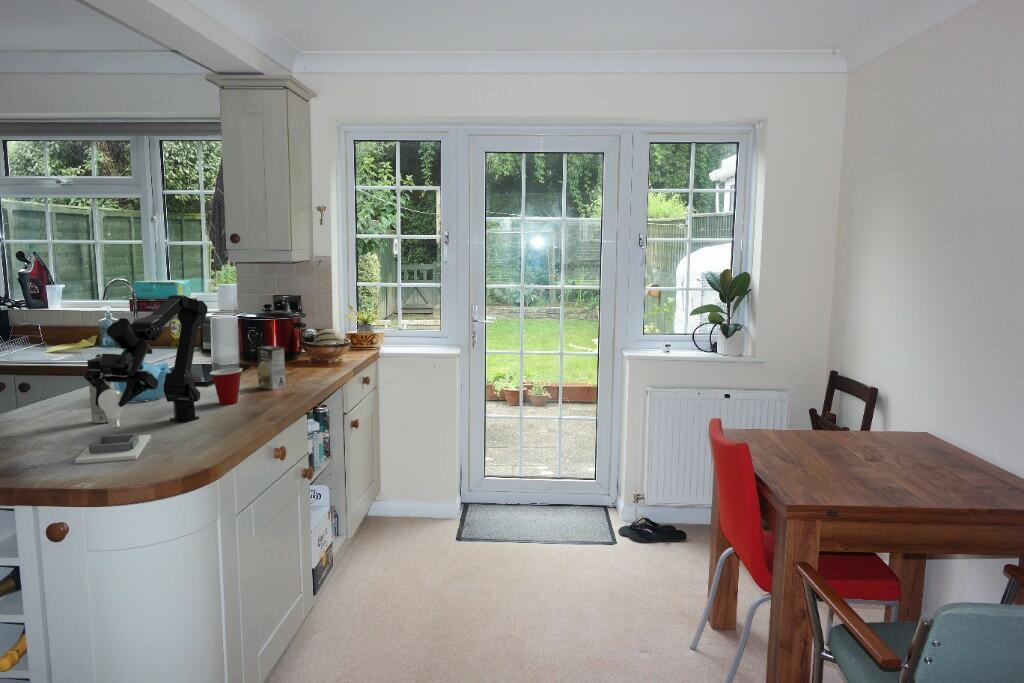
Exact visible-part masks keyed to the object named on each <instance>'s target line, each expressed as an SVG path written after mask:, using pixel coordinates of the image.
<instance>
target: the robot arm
mask: <svg viewBox="0 0 1024 683" xmlns="http://www.w3.org/2000/svg"><path fill="white" fill-rule="evenodd" d="M208 310H209V309H208V305H207V304H206V303H205V302H204V301H203V300H199V299H194V298H191V297H188V296H186V295H184V294H183V295H182V294H178V295H177V294H171V295H170V296H168V298H167V300H165V301H164V302H163V303H162V304H161V305H159V307H158V308H156V309H155V310H154V311H152V312H151V314H149V315H148V316H147V315H146V316H144V317H139V318H138V319H136V320H134V321H133V322H132V323H131V322H130V320H129V319H128V318H126V317H125V318H124V317H120V318H119V319H118V320H117V321H115V322H113V323H112V324H110V325H109V326H107V328H106V335H107V336H108V337H109V338H110V339H111V341H113V343H114V344H115V345H116V346H117V347H118V348H120V349H121V350H122V349H123V350H122V352H121V353H120V354H119V353H118V354H117V353H102V354H101V357H100V358H101V362H100V366H105V367H108V369H107V370H108V371H109V372H111V373H112V375H106V374H105V373H104V372H103V371H102V370H93V369H90V370H88V369H87V370H86V371H85V373H84V374H83V378H84V379H85V380H86V381H87V382H88V384H89V383H90V384H91V385H92V386H93V387H95V388H96V405H97V406H99V404H98V398H99V395H100V394H101V393H102V392H103V391H105V390H107V389H111V388H110V387H109V384H110V382H118V383H126V389H125V391H124V393H123V395H122V397H121V399H120V402H119V406H120V407H122V408H123V407H124V406H125V405H126V404H128V403H130V402H129V401H130V400H132V399H133V398H135V397H136V396H138V395H139V394H141V393H142V392H146V391H147V389H148V390H155V389H156V388H157V386H158V380H157V379H156V378H155V377H154V375H153V374H152V373H151V372H150V371H138V370H142V369H143V366H142V365H141V364H142V362H143V360H145V358H146V355H152V354H153V349H152V348H151V347H152V346H151V344H148V343H147V342H150V341H151V342H156V341H158V340H159V339H160V337H161V336H162V335H163V333H164V326H166V325H167V324H168V323H169V322H170V321H172V319H173V318H174V317H175V316H176V315H177V319H178V322H179V323H180V329H179V330H180V332H179V337H178V343H177V347H176V348H177V349H176V353H175V354H176V355H175V360H174V367H173V369H172V371H170V372H171V373H167V374H166V375H165V382H164V384H163V386H164V388H163V390H164V394H165V396H164V397H165V399H166V401H167V402H169V403H171V402H172V403H173V417H170V418H169V421H173V422H177V421H178V422H177V423H184V422H185V423H186V422H189V421H193V420H198V419H200V416H199V415H196V407H195V402H199V400H200V399H201V392H200V391H199V390H198V388H197V386H195V381H196V380H195V377H194V376H193V374H192V366H193V359H194V354H195V347H196V341H197V336H198V329H199V328H200V327H201V326H202V325H203V323H204V322H205V320H206V318H207V314H208Z"/></svg>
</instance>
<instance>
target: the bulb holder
mask: <svg viewBox="0 0 1024 683" xmlns="http://www.w3.org/2000/svg"><path fill="white" fill-rule="evenodd" d="M151 438H152V437H151V434H145V435H139V434H138V432H137V433H125V434H123V433H122V434H112V435H111V434H109V435H100V436H98V437H96V438H94V439H93V440H92V441H91V442H90V443H89V444H88V446H87V447H86V448H85V449H84V450H83V451H82V453H80V454H79V456H77V458H75V459H74V464H75V465H79V463H81V464H91V463H103V462H116V461H128V460H129V461H130V460H136V459H138V457H139V456H140V454H142V452H143V450H144V449H143V448H145V447H146V446H147V445H148V443H149V441H150V440H151ZM149 439H150V440H149ZM147 442H148V443H147ZM145 445H146V446H145ZM77 463H78V464H77Z"/></svg>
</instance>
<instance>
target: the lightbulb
mask: <svg viewBox="0 0 1024 683" xmlns="http://www.w3.org/2000/svg"><path fill="white" fill-rule="evenodd" d="M122 395H123V393H122V392H121V391H119V390H117V389H107V390H105V391H103V392H102V393H101V394H100V395H99V398H98V404H99V406H100V408H101V409H102V410H103V411H104V412H105V414H106V417H107V418H108V423H107V424H108V428H110V429H117V428H118V427H119V426H121V423H120V416H121V412H122V409H123V407H120V406H119V402H120V399H121V397H122Z"/></svg>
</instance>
